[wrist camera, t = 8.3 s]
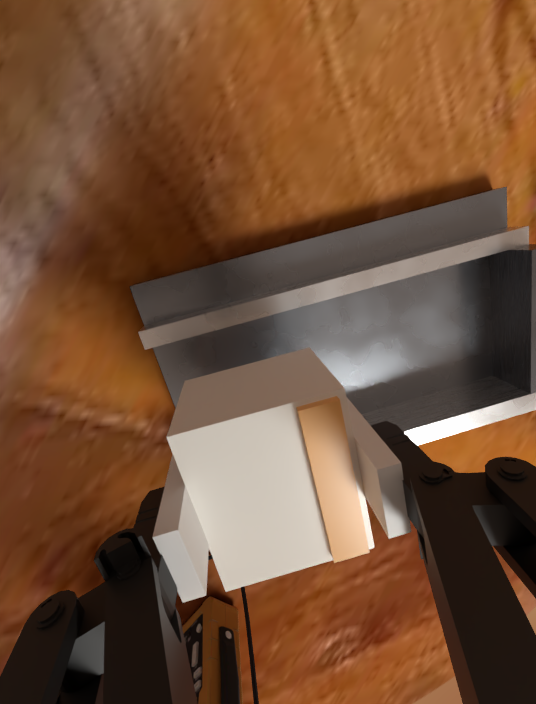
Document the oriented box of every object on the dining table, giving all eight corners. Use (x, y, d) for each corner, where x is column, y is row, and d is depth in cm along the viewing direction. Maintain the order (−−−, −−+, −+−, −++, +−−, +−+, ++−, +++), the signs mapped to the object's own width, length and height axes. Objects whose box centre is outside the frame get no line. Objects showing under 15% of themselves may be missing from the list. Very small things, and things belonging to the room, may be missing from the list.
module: (184, 380, 16) (164, 442, 11) (309, 347, 16) (347, 391, 11) (226, 500, 18) (225, 599, 13) (335, 469, 18) (377, 554, 13)
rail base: (134, 284, 19) (112, 294, 16) (493, 189, 20) (555, 176, 17) (211, 491, 24) (209, 536, 20) (498, 405, 25) (547, 434, 21)
